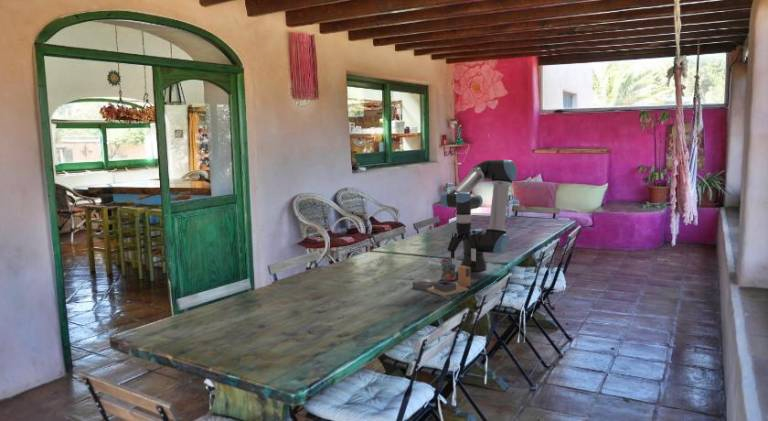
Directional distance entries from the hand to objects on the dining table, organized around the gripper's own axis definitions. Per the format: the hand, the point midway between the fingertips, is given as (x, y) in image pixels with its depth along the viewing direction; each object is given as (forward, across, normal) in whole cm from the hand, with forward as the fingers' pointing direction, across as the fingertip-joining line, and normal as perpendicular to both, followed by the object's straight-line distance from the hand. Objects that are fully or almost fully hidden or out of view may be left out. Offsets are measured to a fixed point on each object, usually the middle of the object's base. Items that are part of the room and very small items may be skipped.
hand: (463, 262), depth 298 cm
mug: (+12, -4, -15) cm, 20 cm away
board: (+12, +12, 0) cm, 18 cm away
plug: (+12, 0, 0) cm, 12 cm away
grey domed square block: (+13, +16, -11) cm, 24 cm away
